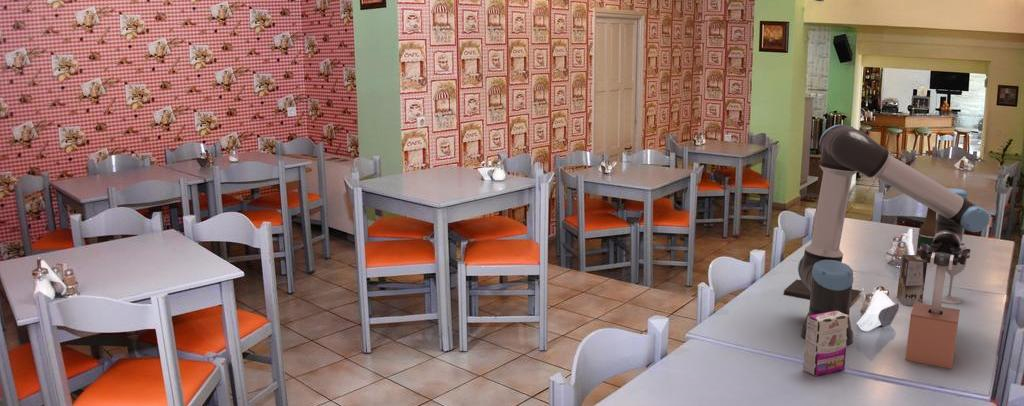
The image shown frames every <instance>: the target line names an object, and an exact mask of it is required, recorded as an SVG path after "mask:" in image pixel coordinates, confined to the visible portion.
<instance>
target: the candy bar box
mask: <svg viewBox="0 0 1024 406" xmlns="http://www.w3.org/2000/svg"><path fill="white" fill-rule="evenodd" d="M806 316H807V315H806ZM849 319H850V314H849V315H847V314H844V313H842V312H840V311H832V312H826V313H821V314H816V315H810V316H807V326H806V339H805V342H804V354H803V355H804V356H803V368H802V369H803V371H804V372H806V373H808V374H810V375H812V376H814V377H819V376H822V375H827V374H831V373H837V372H840V371H844V370H845V369H846V368H845V367H846V356H847V355H846V354H847V347H848V345H847V334H848V323H849Z"/></svg>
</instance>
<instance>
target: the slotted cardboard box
mask: <svg viewBox="0 0 1024 406" xmlns="http://www.w3.org/2000/svg"><path fill="white" fill-rule="evenodd" d="M931 307H932V304H928V303H927V304H925V303H923V302H922V303H914V306H913V307H912V309H911V313H910V318H909V326H908V334H907V343H906V351H905V360H906V361H910V362H914V363H915V362H916V363H920V364H925V365H926V364H927V365H930V366H935V367H936V366H937V367H941V368H946V369H953V364H954V357H955V349H956V341H957V333H958V328H959V327H958V326H959V319H960V310H961V309H958V308H957V309H956V308H953V307H952V308H951V307H947V306H945V307H944V306H941V311H940V314H934V313H931Z"/></svg>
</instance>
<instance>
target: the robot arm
mask: <svg viewBox="0 0 1024 406" xmlns="http://www.w3.org/2000/svg"><path fill="white" fill-rule="evenodd" d="M819 150H820V154H821V155H820V160H819V165H818V166H819V167H820V169H821V170H822V172H823V173H822V179H821V185H820V190H819V195H818V200H817V207H816V213H815V219H814V223H813V231H812V236H811V241H810V244H809V245H807V246H805V248H804V253H803V256H802V257H801V258H800V259H799V262H798V265H797V273H798V275H799V278H800V279H799V280H801V281H802V282H803V283H804V285H806V286H807V288H808V289H809V290H810V292H811V294H810V300H809V307H808V311H807V314H806V317H805V318H804V321H803V324H802V325H801V328H800V330H801V331H800V336H801V337H802V338H804V339H805V340H806V326H807V316H810V315H816V314H821V313H826V312H832V311H840V312H842V313H844V314H847V315H849V316H850V312H851V311H850V310H851V309H850V308H851V307H850V302H851V293H852V289H853V284H854V270H853V269H852V268H851V266H850V265H848V264H847V263H845V262H843V258H844V257H843V256H844V253H843V252H842V250H841V249H840V245H841V240H842V235H843V228H844V223H845V220H846V219H845V218H846V213H847V206H848V203H849V202H848V201H849V195H850V191H851V185H852V180H853V176H854V175H855V174H856V173H860V174H862V175H864V176H865V177H867V178H870V179H871V178H876V179H878V180H880V182H881V181H882V182H883V183H884V184H886V185H888V186H890V187H891V188H894V190H897V191H899V192H900V193H902V194H904V195H906V196H908V197H909V198H911V199H912V200H914V201H916V202H917V203H920V204H922V205H923V206H925V207H927V209H928V208H930V209H932V210H933V211H935V212H936V230H935V237H934V239H933V242H932V244H930V245H929V246H928V245H927V244H925V243H921V244H920V252H921V259H925V258H927V264H929V267H930V268H933V267H934V265H935V264H934V259H935V253H936V252H943V253H948V254H950V255H951V256H950V261H949V269H948V270H952V265H957V263H960V264H961V265H964V264H965V262H966V263H967V259H969V258H970V257H971V249H969V248H966V249H963V250H961V248H960V245H961V243H963V236H964V235H963V230H966V231H967V232H972V233H978V232H979V233H980V232H981V231H984V230H985V229H986V228H987V227H988V225H989V223H990V215H989V212H988V211H987V210H985V208H983V207H981V206H979V205H977V204H975V203H973V202H971V201H970V200H969V198H968V192H967V191H966V190H964V189H961V188H954V187H953V188H952V187H951V188H947V187H945V186H944V185H942V184H940V182H939V183H938V182H937V181H935V180H933V179H932V178H930V177H928V176H927V175H925V174H923V173H922V172H920V171H918V170H916V169H915V168H913V167H911V166H910V165H908V164H906V163H904V162H902V161H901V160H899V159H897V158H896V157H894V156H892V155H891V152H890V150H889V149H887V148H886V147H884V146H883V145H880V144H879V143H878V142H877V141H875V140H874V139H873V138H871V137H870V136H869V135H868V134H866V133H865V132H863V131H861V130H860V129H857V128H854V126H852V125H847V124H835V125H832V126H830V127H828V128H827V129H825V131H824V132H823V133H822V134H821V136H820V138H819ZM927 250H929V252H927ZM960 254H961V257H958V256H959V255H960ZM853 341H854V331H853V329H852V324H851V319H850V318H849V323H848V334H847V346H848V345H850V344H852V343H853Z"/></svg>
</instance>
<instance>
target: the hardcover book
mask: <svg viewBox="0 0 1024 406" xmlns="http://www.w3.org/2000/svg"><path fill="white" fill-rule="evenodd" d="M861 292H862V290H859V289H853V288H852V293H851V302H850V308H852V305H854V303H855V302H856V301H857V300H858V299H859V297H860V296H861ZM810 294H811V292H810V290H809V289H808V288H807V286H806V285H804V283H803V282H802V281H801V279H798V278H797V279H796V280H794V281H793V282H791V284H790V285H788V286H787V287H786V288H785V289H784V290H783V295H784V296H789V297H793V298H799V299H804V300H809V301H810ZM855 300H856V301H855Z"/></svg>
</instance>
